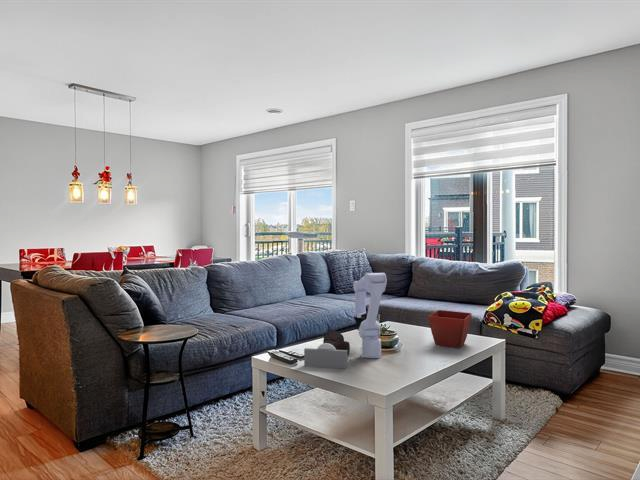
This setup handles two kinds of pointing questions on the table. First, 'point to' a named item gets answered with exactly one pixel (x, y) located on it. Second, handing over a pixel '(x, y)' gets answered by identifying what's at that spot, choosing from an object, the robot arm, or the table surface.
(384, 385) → the table surface
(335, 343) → the dark brown rounded piece
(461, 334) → the plant pot
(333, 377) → the table surface
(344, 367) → the duct panel
